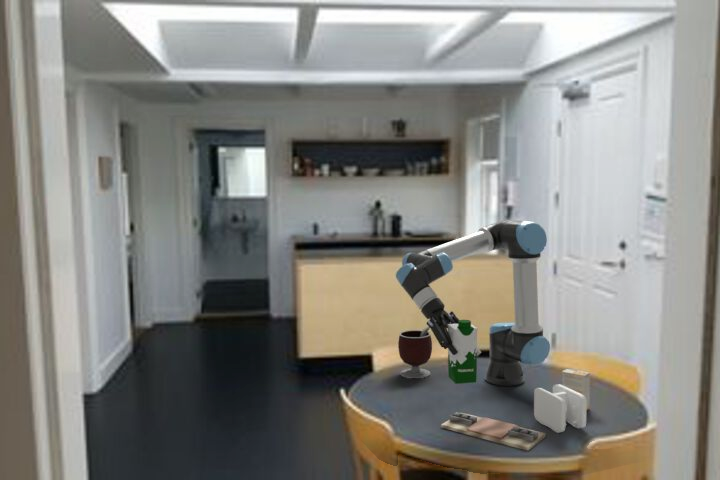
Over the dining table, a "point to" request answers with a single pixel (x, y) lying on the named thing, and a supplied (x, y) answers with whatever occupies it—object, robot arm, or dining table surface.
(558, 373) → the dining table surface
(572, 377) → the supplement box
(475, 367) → the soya milk
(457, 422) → the board with end clamps
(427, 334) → the mate gourd
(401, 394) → the dining table surface
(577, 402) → the cable organizer
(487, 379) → the robot arm
